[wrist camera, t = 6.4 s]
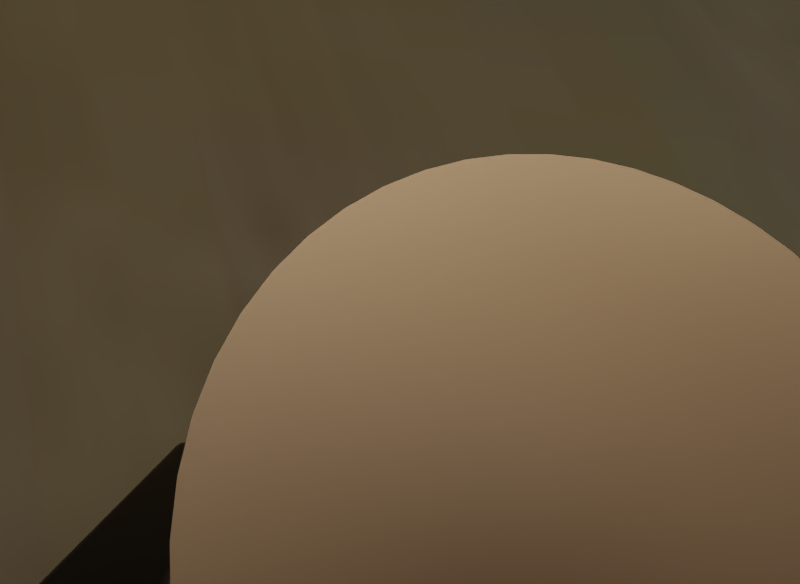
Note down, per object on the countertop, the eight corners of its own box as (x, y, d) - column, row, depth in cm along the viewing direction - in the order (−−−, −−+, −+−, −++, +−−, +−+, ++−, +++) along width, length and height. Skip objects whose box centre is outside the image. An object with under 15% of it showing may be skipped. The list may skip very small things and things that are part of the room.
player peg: (451, 637, 15) (1168, 721, 3) (270, 746, 14) (450, 1536, 2) (368, 460, 16) (692, 76, 5) (193, 544, 15) (23, 289, 3)
